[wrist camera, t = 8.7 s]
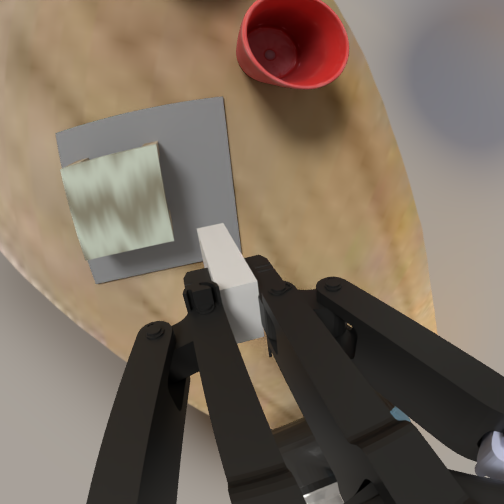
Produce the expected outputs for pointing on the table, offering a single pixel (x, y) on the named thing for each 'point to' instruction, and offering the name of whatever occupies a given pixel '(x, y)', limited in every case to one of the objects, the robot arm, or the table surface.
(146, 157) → the stool
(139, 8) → the table surface
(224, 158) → the mat
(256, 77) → the flower pot
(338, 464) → the robot arm
